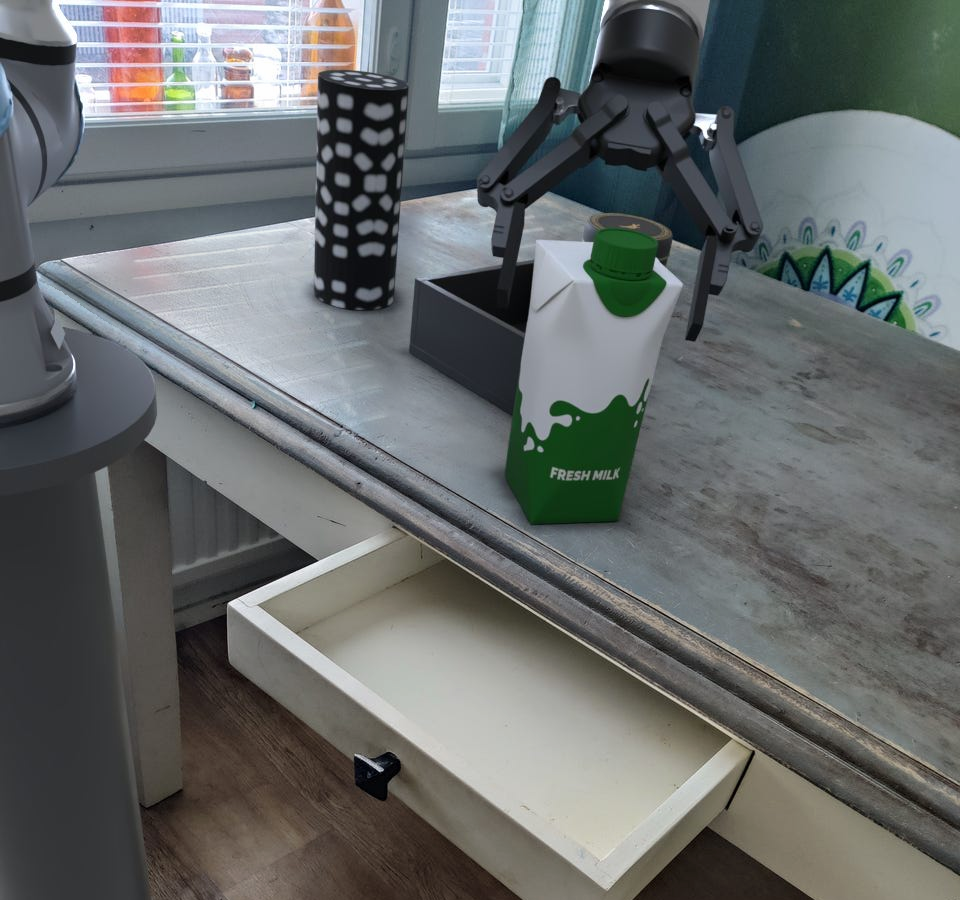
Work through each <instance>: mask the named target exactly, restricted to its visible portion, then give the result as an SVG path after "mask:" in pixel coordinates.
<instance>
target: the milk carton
mask: <svg viewBox="0 0 960 900" xmlns="http://www.w3.org/2000/svg"><path fill="white" fill-rule="evenodd" d="M534 249H535V252H534V259H533V260H534V270H533V280H532V290H531V300H530V308H529V316H528V321H527V327H526V333H525V340H524V346H523V353H522V359H521V365H520V372H519V378H518V384H517V391H516V397H515V404H514V410H513V416H512V418H511V425H510V430H509V437H508V438H509V439H508V443H507V444H508V445H507V453H506V460H505V468H504V475H503V476H504V478H505V479H506V482H507V483H508V485H509V487H510V488H511V490H512V492H513V494H514V496H515V498H516V500H517V501H518V503H519V505H520V507H521V509H522V511H523V512H524V515H525V516H526V518H527V520H528V522H529V524H530V525H544V524H545V525H547V524H549V525H550V524H572V523H575V524H576V523H600V522H602V523H603V522H618V521H619V519H620V515H621V510H622V507H623V503H624V498H625V494H626V490H627V486H628V482H629V479H630V474H631V470H632V466H633V461H634V457H635V452H636V449H637V444H638V441H639V437H640V432H641V429H642V428H641V427H642V424H643V420H644V417H645V413H646V408H647V403H648V399H649V396H650V392H651V388H652V384H653V380H654V376H655V371H656V367H657V363H658V359H659V355H660V352H661V348H662V343H663V340H664V337H665V334H666V331H667V328H668V326H669V324H670V320H671V318H672V315H673V313H674V310H675V308H676V305H677V302H678V300H679V297H680V295H681V292H682V290H683V287H684V283H683V282H682V281H681V280H680V279H679V278H678V277H677V276H676V275H674V274H673V273H672V272H671V271H670V270H669V269H668V268H667V266H666V267H665V266H663V265H662V264H661V263H660V261H659V260H658V259H657V258H656V254H657V249H658V242H657V241H656V240H655V239H654V238H652V237H651V236H648V235H646V234H643V233H640V232H637V231H633V230H628V229H620V228H605V229H600V230H598V231H597V232H596V233H595V237H594V242H582V241H574V240H573V241H572V240H555V239H553V240H551V239H536V240H535V248H534Z"/></svg>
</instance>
